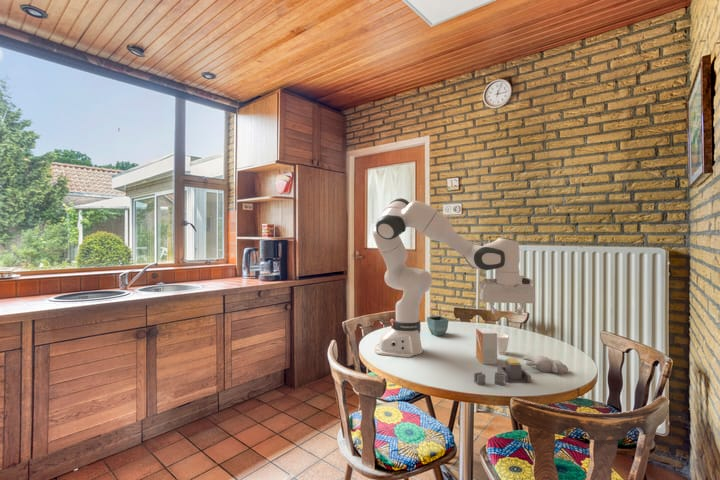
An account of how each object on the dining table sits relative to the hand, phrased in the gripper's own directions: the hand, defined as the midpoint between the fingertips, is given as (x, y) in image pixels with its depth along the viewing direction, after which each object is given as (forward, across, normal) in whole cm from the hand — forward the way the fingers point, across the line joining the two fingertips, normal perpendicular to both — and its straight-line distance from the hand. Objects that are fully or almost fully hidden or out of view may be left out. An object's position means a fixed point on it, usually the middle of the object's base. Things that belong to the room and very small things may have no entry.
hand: (506, 314), depth 135 cm
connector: (+22, 0, -6) cm, 23 cm away
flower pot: (+23, -18, +51) cm, 59 cm away
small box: (+23, -4, +12) cm, 26 cm away
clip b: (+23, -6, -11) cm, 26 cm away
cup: (+23, +4, +23) cm, 32 cm away
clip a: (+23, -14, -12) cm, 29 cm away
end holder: (+23, +1, -6) cm, 23 cm away
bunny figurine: (+23, +16, +2) cm, 28 cm away
